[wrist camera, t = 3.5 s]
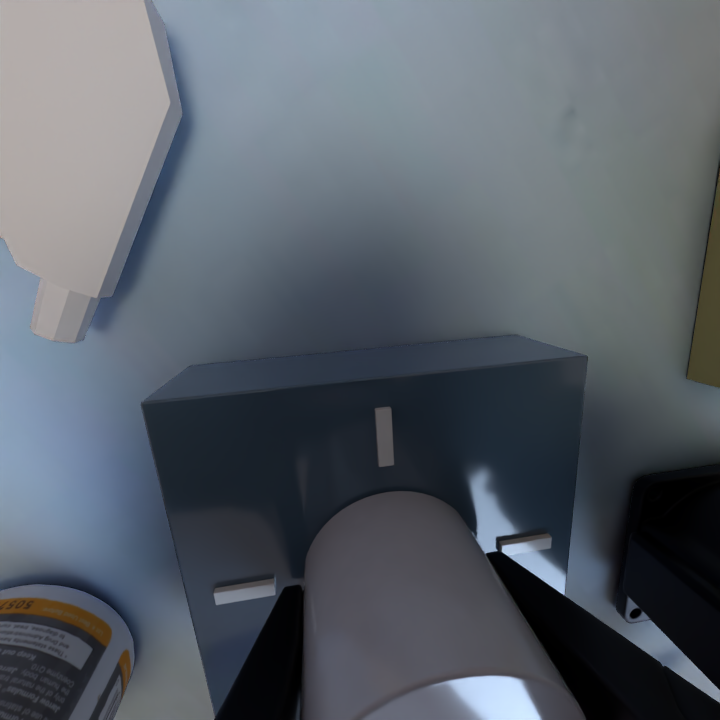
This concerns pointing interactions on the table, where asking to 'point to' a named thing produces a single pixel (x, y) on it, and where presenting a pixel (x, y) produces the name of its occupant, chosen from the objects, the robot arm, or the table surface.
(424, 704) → the tap knob
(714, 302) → the cake
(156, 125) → the spray bottle
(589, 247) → the table surface
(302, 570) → the panel
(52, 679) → the pill bottle
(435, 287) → the table surface
